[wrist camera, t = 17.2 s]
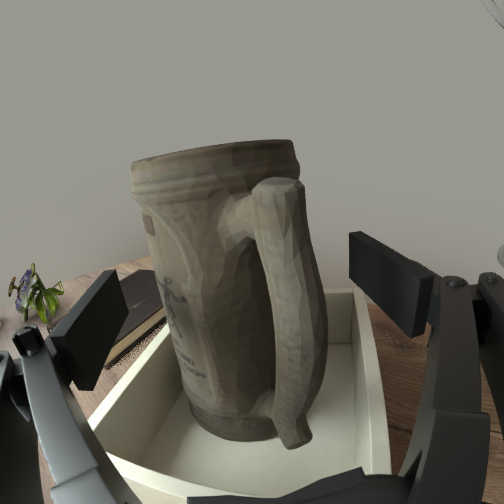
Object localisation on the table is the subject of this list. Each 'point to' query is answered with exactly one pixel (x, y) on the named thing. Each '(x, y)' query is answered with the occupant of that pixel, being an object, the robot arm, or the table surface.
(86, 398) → the table surface
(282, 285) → the beer stein
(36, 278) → the passion flower
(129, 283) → the hardcover book
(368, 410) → the open storage bin
